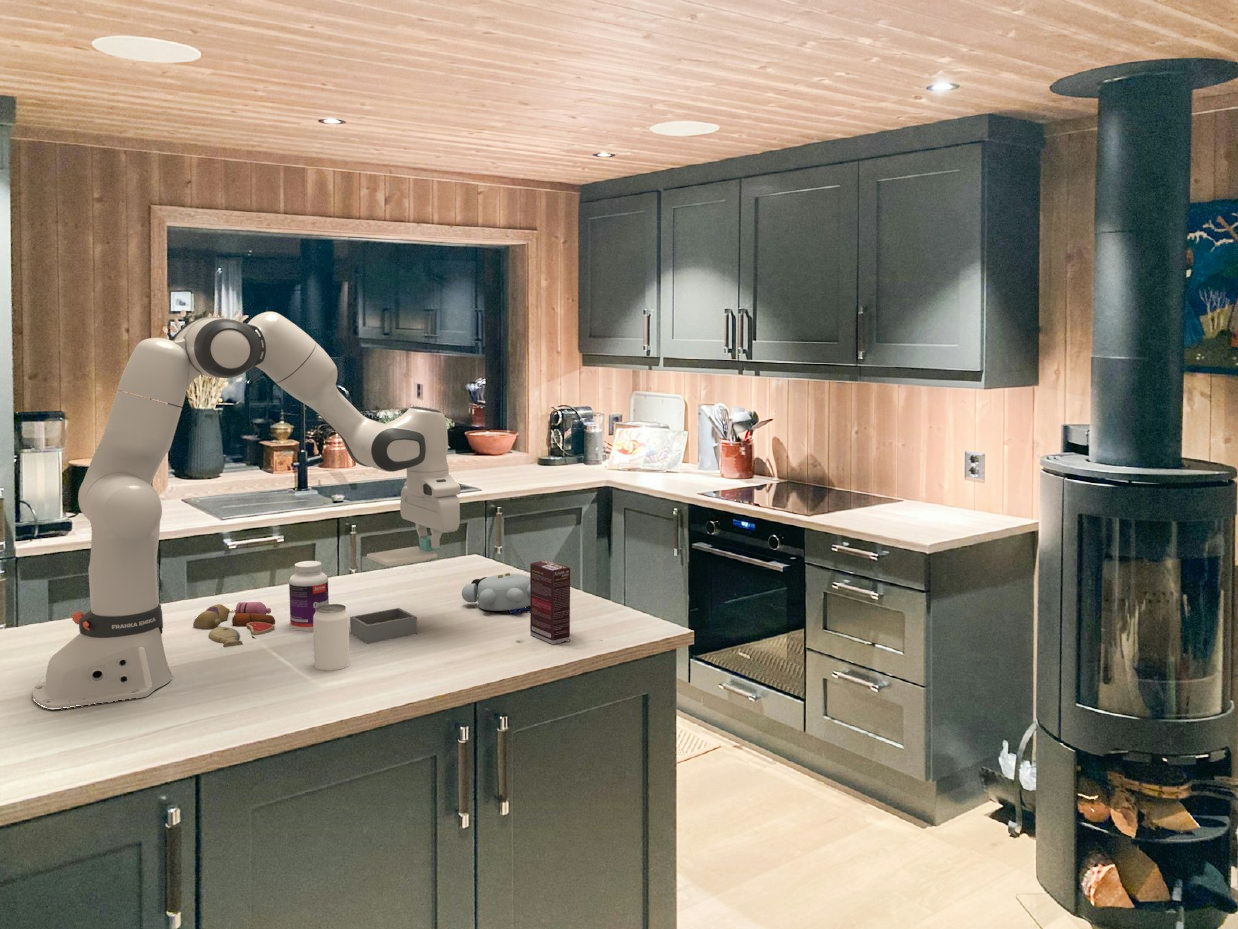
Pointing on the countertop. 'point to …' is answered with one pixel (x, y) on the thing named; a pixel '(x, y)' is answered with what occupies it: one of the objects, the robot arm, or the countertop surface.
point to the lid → (405, 554)
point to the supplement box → (550, 601)
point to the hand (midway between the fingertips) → (429, 545)
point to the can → (331, 637)
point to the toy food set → (236, 621)
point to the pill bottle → (307, 594)
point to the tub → (383, 625)
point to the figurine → (500, 592)
